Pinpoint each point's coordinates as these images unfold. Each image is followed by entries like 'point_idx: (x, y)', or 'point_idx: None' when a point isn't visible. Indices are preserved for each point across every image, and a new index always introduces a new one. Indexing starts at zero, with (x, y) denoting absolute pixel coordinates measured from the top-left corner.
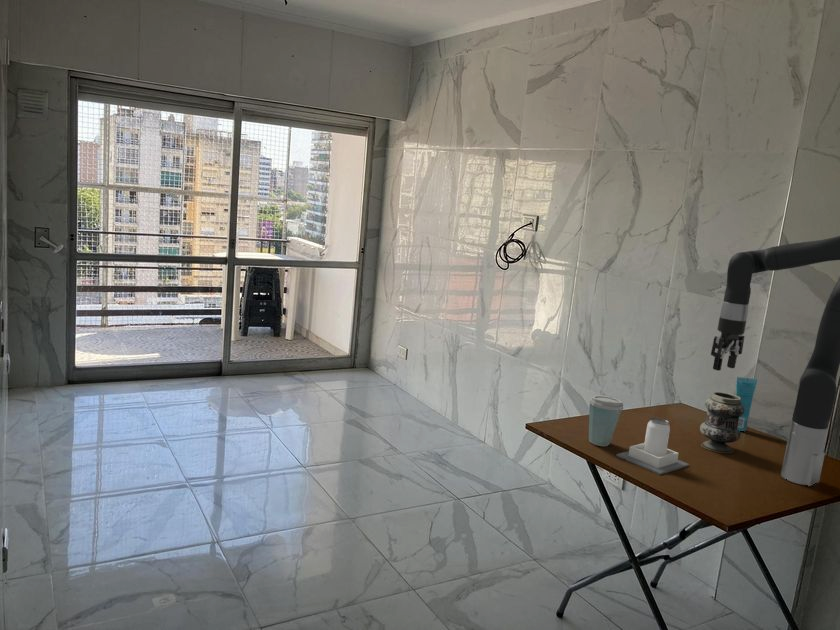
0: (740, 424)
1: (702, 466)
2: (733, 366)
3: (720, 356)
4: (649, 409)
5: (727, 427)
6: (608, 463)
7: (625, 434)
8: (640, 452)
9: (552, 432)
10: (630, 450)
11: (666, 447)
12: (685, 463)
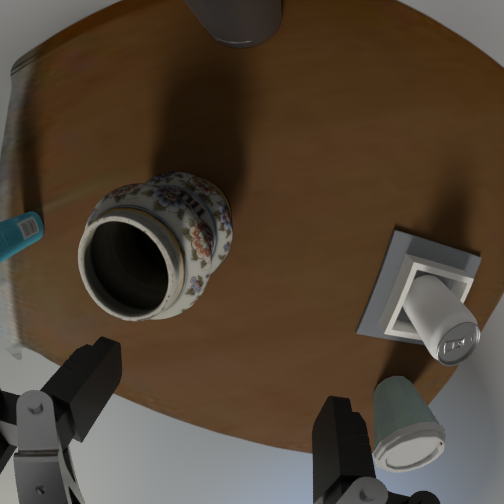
0: (31, 224)
1: (369, 203)
2: (113, 351)
3: (382, 500)
4: None
5: (201, 207)
6: None
7: (298, 382)
8: None
9: None
10: None
11: (441, 288)
12: (398, 237)
